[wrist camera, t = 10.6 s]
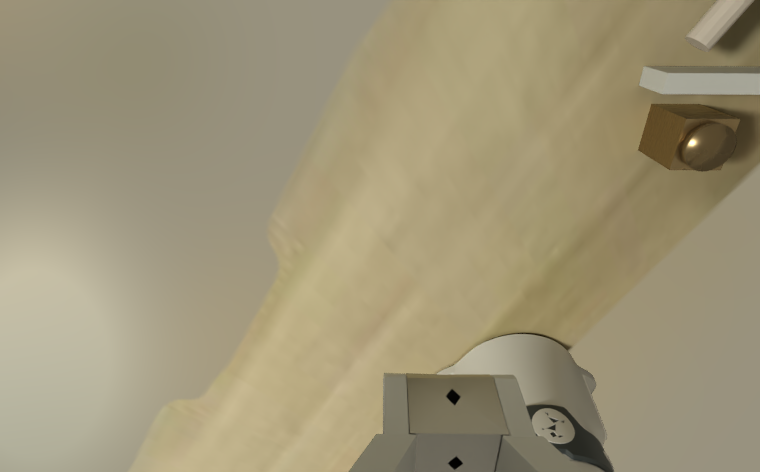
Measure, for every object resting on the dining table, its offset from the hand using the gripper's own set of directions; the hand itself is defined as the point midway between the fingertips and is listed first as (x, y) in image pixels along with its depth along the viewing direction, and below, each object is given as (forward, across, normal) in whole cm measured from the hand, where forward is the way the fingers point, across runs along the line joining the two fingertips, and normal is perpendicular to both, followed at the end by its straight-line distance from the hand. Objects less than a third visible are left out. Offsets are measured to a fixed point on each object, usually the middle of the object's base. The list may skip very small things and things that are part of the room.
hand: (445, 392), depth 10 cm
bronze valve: (+31, -23, +2) cm, 39 cm away
